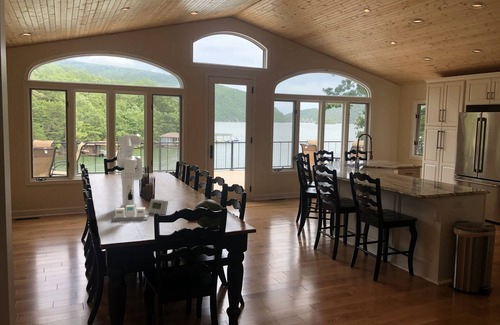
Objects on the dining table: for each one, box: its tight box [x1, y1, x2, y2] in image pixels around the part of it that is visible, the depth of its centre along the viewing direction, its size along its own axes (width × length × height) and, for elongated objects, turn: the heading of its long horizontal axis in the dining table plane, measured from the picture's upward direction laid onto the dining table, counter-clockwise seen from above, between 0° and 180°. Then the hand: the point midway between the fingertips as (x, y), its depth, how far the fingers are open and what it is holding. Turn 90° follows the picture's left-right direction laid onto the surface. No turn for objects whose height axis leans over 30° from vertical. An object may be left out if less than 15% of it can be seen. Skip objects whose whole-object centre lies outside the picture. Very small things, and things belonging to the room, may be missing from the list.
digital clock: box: [148, 198, 169, 216], centre depth 317 cm, size 16×9×11 cm, turn 56°
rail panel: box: [111, 206, 150, 222], centre depth 299 cm, size 13×25×8 cm, turn 98°
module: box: [125, 205, 136, 217], centre depth 299 cm, size 5×6×8 cm
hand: (130, 199), depth 298 cm, fingers closed
